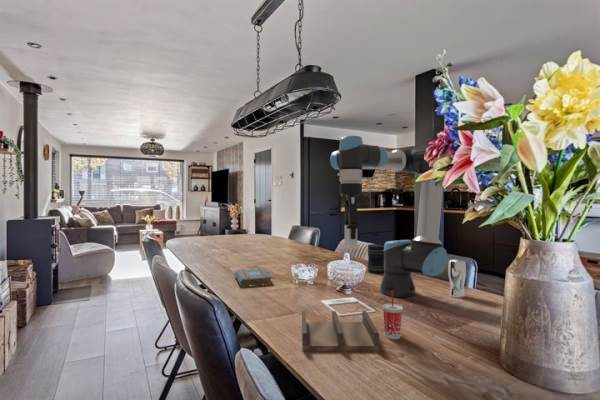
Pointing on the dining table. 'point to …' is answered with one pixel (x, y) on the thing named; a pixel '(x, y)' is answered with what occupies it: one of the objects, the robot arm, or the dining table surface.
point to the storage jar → (376, 259)
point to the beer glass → (457, 277)
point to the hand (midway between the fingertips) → (350, 246)
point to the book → (253, 277)
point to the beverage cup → (392, 320)
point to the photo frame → (345, 301)
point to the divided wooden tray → (339, 335)
